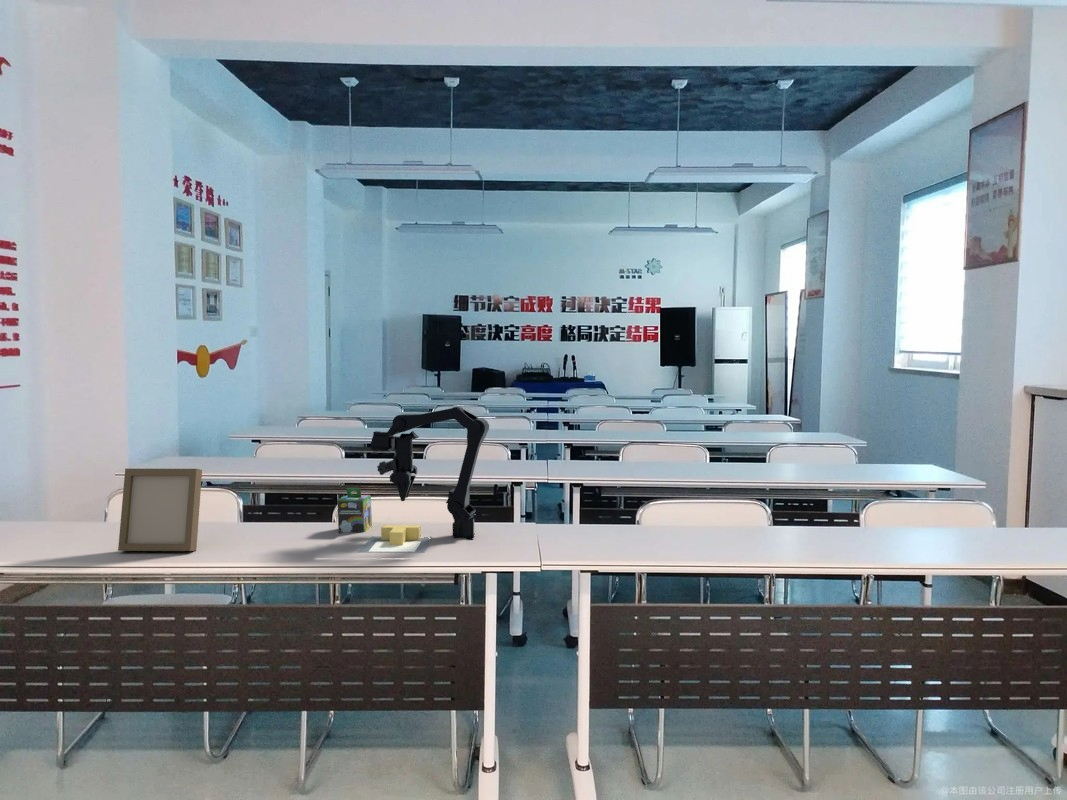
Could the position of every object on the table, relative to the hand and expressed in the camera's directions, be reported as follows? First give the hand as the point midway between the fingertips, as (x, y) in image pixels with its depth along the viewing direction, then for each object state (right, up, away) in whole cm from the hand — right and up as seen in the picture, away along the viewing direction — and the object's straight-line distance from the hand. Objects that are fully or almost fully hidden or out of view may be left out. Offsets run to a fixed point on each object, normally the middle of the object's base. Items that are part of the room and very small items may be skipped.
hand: (404, 499), depth 268 cm
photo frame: (-71, -13, -17) cm, 74 cm away
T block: (0, -12, -10) cm, 16 cm away
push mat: (0, -13, -14) cm, 19 cm away
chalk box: (-18, -12, +8) cm, 23 cm away
